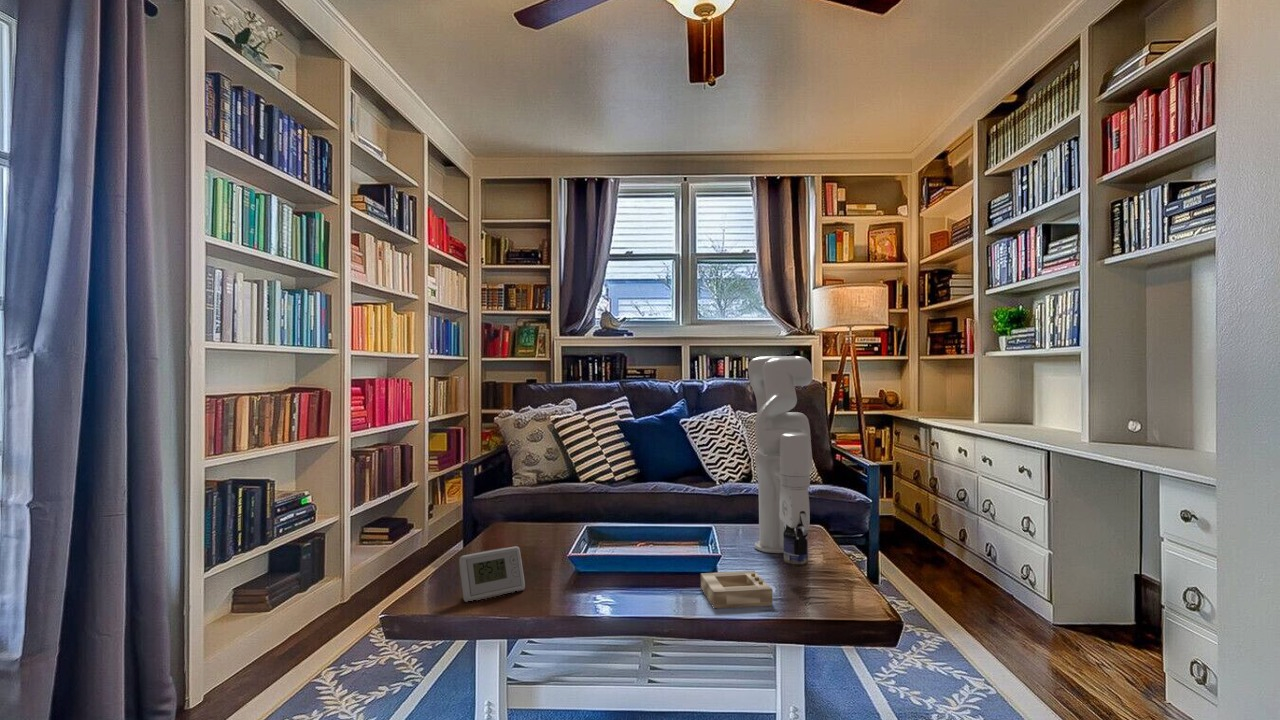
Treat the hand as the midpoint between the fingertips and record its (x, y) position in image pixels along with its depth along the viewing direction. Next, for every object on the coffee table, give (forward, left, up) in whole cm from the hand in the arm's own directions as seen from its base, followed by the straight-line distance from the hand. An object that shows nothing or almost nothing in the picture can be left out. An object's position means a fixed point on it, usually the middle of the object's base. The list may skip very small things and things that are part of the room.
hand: (795, 549), depth 161 cm
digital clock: (-4, -77, -9) cm, 78 cm away
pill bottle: (0, 0, -4) cm, 4 cm away
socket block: (+7, -18, -9) cm, 21 cm away
